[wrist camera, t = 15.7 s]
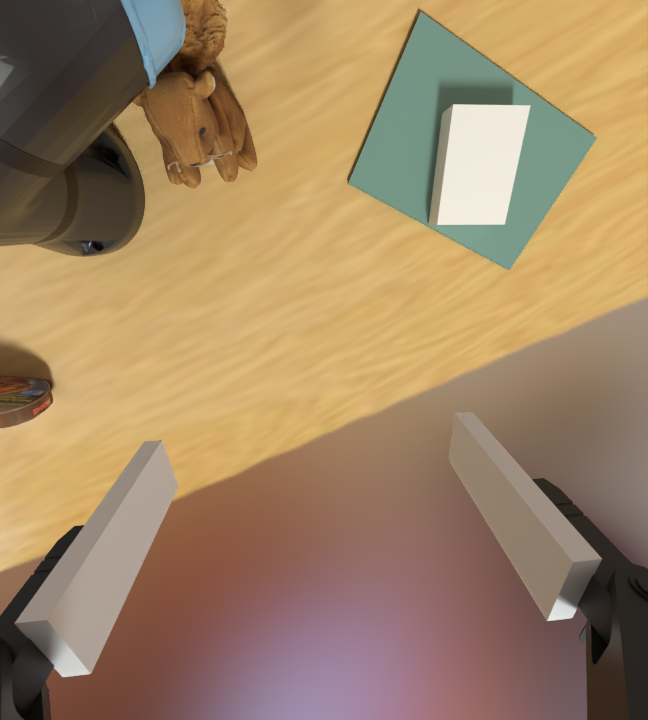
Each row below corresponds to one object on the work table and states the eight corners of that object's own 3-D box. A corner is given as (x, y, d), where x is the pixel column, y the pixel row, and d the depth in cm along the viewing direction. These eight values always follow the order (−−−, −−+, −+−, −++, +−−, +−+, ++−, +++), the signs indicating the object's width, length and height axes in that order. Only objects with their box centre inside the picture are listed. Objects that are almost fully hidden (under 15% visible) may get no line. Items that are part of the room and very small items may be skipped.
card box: (437, 224, 35) (453, 104, 30) (427, 224, 38) (440, 114, 33) (504, 224, 35) (530, 105, 31) (490, 224, 38) (512, 115, 33)
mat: (347, 183, 36) (348, 182, 35) (419, 14, 30) (420, 11, 30) (507, 269, 41) (509, 269, 40) (593, 139, 35) (596, 137, 35)
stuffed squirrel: (173, 190, 35) (112, 187, 24) (133, 18, 28) (20, -104, 17) (260, 187, 36) (242, 183, 24) (240, 17, 29) (202, -102, 17)
